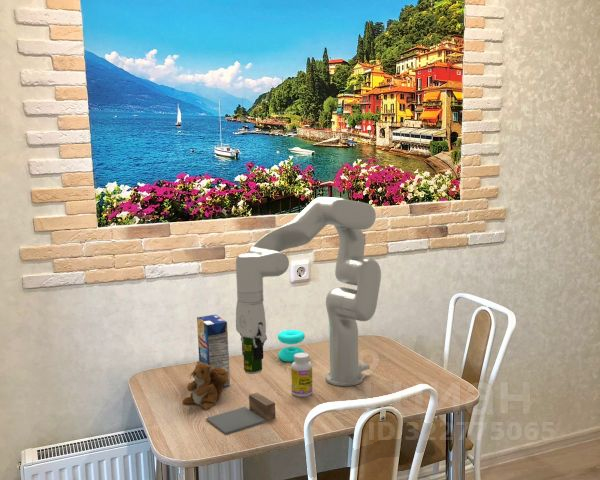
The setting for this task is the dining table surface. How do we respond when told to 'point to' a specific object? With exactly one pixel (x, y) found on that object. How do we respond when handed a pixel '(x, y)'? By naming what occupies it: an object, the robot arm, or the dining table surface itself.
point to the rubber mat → (235, 420)
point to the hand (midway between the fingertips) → (252, 356)
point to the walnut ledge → (262, 406)
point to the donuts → (290, 338)
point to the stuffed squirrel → (206, 385)
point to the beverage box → (213, 342)
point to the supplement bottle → (301, 375)
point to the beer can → (250, 357)
